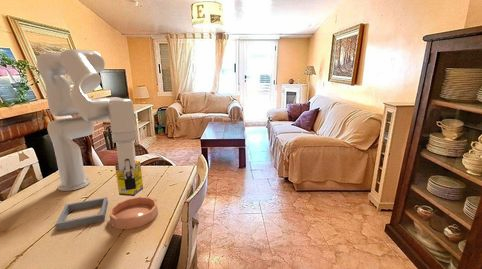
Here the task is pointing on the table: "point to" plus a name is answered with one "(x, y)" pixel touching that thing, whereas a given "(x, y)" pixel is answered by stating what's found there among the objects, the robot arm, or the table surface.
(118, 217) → the bowl
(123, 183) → the supplement box
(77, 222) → the open square frame
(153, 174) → the table surface
